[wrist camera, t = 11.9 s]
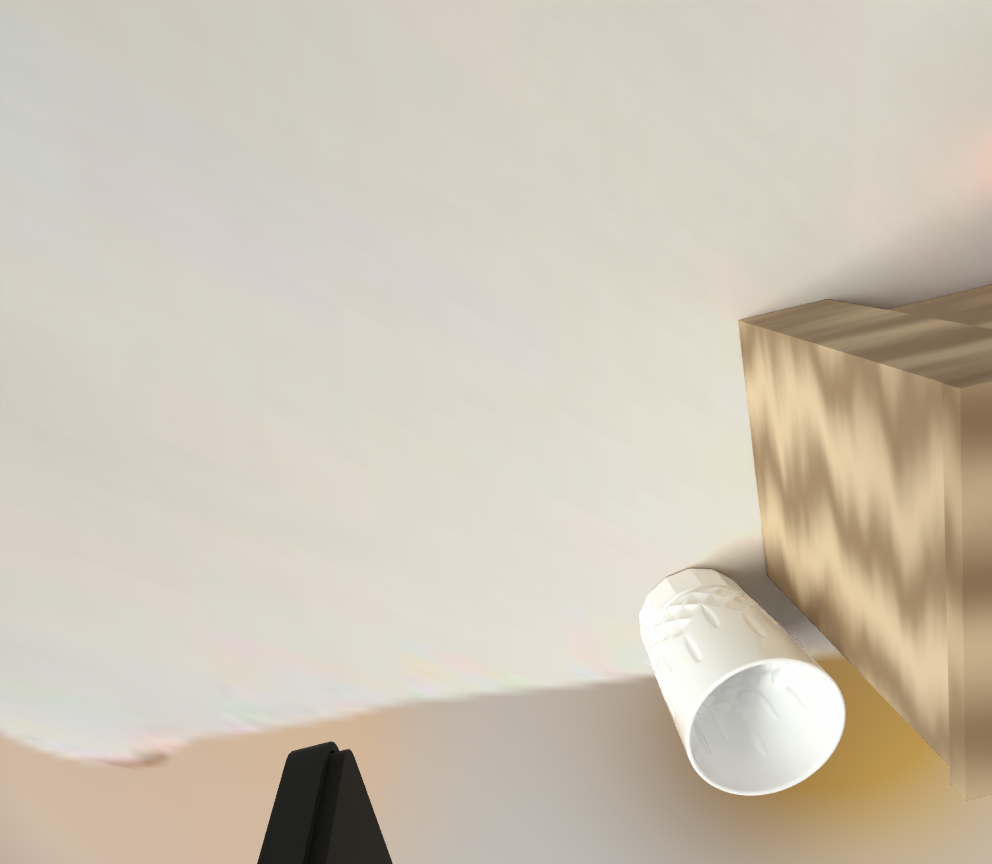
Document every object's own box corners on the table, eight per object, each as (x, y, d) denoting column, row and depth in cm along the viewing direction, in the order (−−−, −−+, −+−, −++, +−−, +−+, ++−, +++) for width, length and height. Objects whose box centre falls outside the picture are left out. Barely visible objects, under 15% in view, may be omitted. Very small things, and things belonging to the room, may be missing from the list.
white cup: (764, 560, 41) (863, 660, 32) (740, 671, 43) (826, 796, 34) (638, 555, 40) (701, 657, 31) (620, 669, 43) (674, 796, 33)
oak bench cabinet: (730, 318, 37) (960, 388, 21) (986, 257, 37) (1409, 280, 21) (761, 580, 42) (965, 801, 26) (986, 524, 42) (1329, 709, 26)
